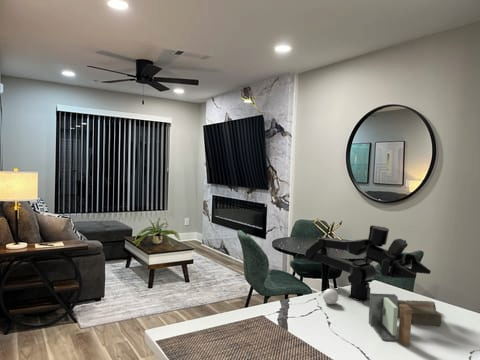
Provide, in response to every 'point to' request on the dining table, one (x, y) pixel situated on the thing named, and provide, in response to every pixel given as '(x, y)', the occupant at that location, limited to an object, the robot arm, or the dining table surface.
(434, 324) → the marble piece
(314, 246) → the robot arm
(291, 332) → the dining table surface
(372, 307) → the gray bookend
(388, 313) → the pale green slab
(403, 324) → the post
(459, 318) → the dining table surface
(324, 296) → the seamed sphere
